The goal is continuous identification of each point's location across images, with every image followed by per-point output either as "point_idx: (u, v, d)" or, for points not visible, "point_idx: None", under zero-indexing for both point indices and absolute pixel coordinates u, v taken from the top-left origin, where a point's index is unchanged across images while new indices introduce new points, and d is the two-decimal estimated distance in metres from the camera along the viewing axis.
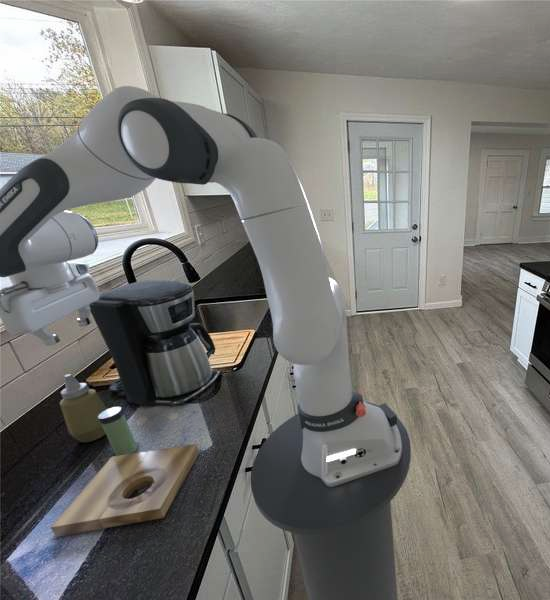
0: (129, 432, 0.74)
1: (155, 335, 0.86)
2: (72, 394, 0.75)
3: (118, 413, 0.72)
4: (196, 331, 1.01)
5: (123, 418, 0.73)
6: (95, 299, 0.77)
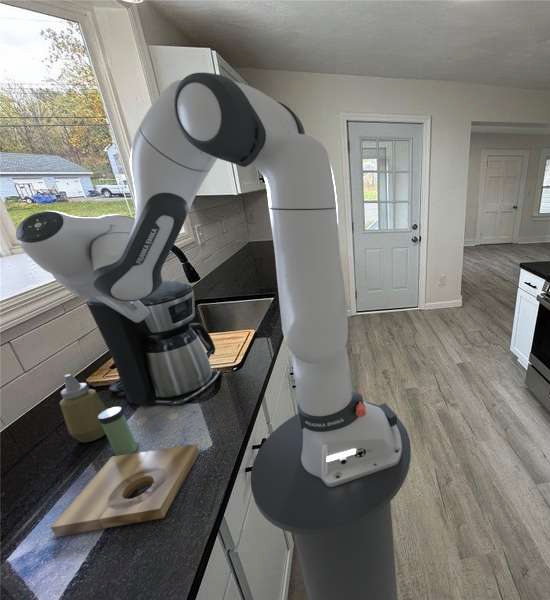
0: (129, 432, 0.74)
1: (155, 335, 0.86)
2: (72, 394, 0.75)
3: (118, 413, 0.72)
4: (196, 331, 1.01)
5: (123, 418, 0.73)
6: None
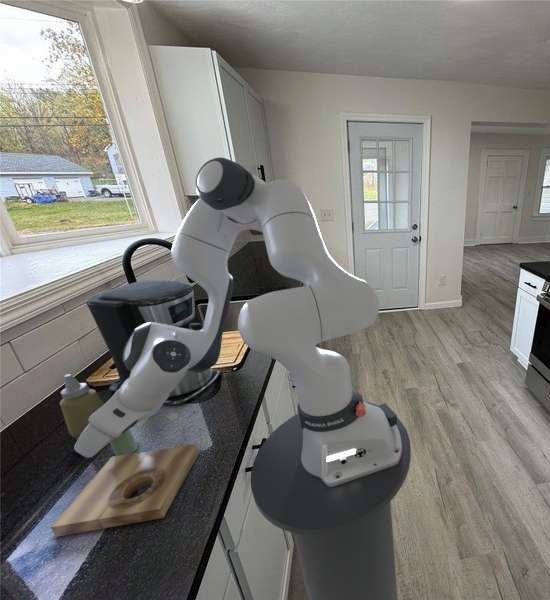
0: (129, 432, 0.74)
1: None
2: (72, 394, 0.75)
3: None
4: None
5: None
6: None
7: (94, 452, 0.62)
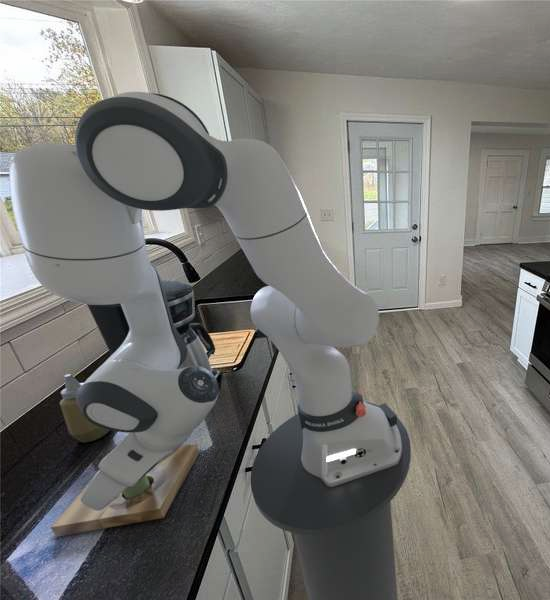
0: None
1: None
2: (72, 394, 0.75)
3: None
4: (196, 331, 1.01)
5: None
6: None
7: (105, 504, 0.51)
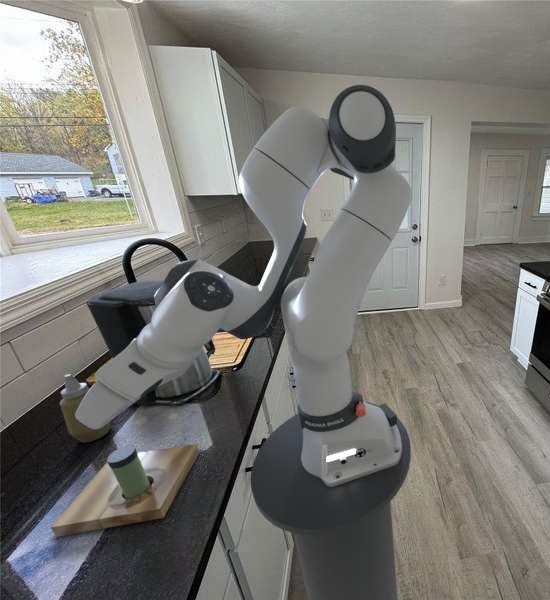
0: (144, 475, 0.63)
1: None
2: (72, 394, 0.75)
3: (131, 455, 0.60)
4: None
5: (137, 460, 0.61)
6: None
7: (103, 421, 0.45)
